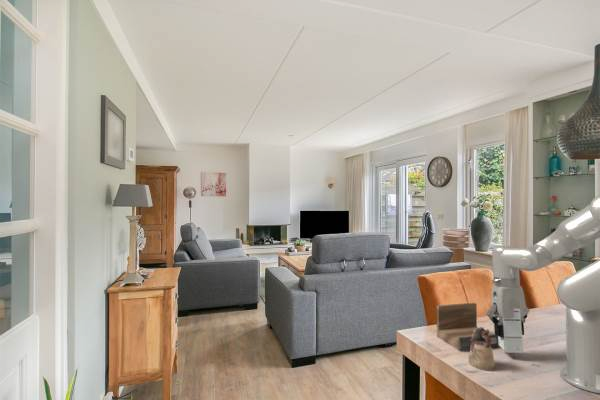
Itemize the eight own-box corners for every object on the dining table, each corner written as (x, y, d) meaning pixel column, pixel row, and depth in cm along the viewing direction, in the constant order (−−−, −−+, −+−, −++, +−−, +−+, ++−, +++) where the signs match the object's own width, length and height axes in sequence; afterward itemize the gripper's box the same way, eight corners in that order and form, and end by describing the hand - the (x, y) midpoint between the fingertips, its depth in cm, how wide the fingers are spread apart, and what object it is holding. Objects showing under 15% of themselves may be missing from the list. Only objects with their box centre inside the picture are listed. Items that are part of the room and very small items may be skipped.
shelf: (502, 347, 114) (501, 313, 114) (460, 351, 110) (460, 317, 111) (474, 332, 127) (474, 302, 127) (436, 336, 123) (436, 305, 124)
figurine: (480, 358, 106) (479, 322, 106) (499, 368, 99) (499, 329, 99) (463, 361, 104) (463, 324, 104) (482, 372, 97) (482, 332, 97)
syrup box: (524, 353, 104) (521, 308, 104) (504, 352, 105) (501, 308, 106) (516, 346, 109) (513, 303, 110) (497, 345, 110) (494, 303, 111)
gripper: (493, 286, 103) (496, 341, 102) (537, 282, 106) (540, 336, 105) (476, 281, 110) (478, 333, 109) (518, 278, 114) (520, 328, 113)
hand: (509, 334), depth 107 cm, fingers closed on syrup box, 7 cm apart
